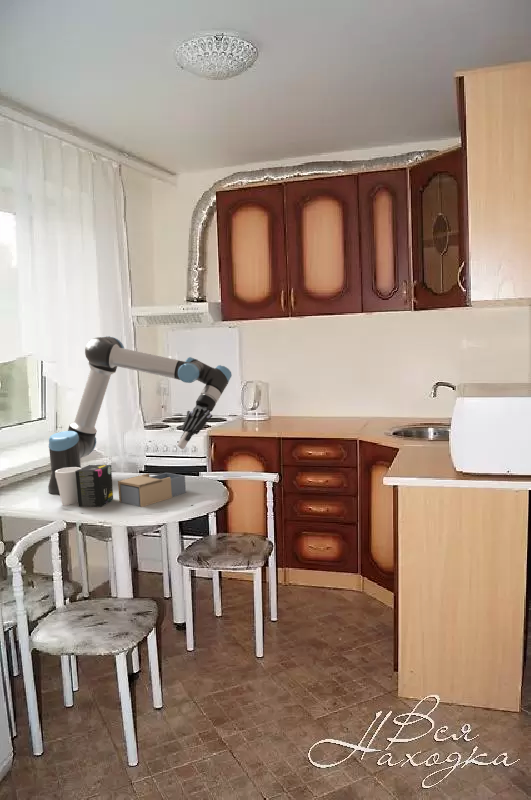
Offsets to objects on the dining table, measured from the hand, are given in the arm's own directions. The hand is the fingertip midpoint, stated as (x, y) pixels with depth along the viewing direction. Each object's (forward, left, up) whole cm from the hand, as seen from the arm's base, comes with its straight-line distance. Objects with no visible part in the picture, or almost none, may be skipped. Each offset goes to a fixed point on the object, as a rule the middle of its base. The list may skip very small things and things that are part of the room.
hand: (180, 447), depth 251 cm
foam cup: (-24, -35, -18) cm, 46 cm away
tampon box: (-12, -32, -18) cm, 38 cm away
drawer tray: (+1, -15, -18) cm, 23 cm away
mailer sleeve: (+1, -19, -18) cm, 26 cm away
